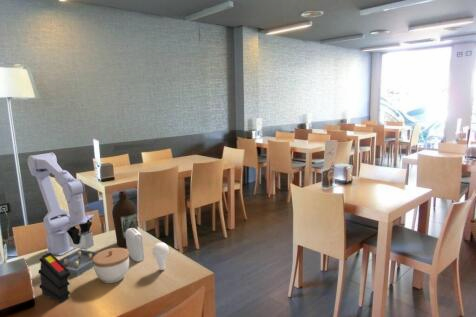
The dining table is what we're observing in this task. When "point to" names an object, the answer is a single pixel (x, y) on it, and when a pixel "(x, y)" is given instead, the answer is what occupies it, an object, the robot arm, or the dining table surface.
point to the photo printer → (134, 244)
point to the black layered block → (54, 278)
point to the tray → (78, 261)
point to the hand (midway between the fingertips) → (80, 241)
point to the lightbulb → (160, 254)
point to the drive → (83, 240)
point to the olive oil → (124, 217)
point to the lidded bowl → (111, 264)
